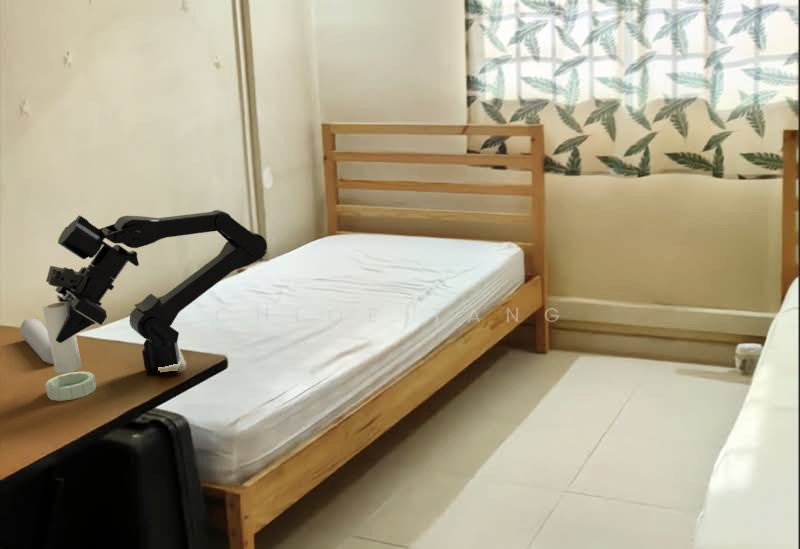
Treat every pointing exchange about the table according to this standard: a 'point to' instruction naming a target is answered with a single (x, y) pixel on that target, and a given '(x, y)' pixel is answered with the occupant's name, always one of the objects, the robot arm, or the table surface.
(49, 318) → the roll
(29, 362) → the table surface
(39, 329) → the tube
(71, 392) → the holder
